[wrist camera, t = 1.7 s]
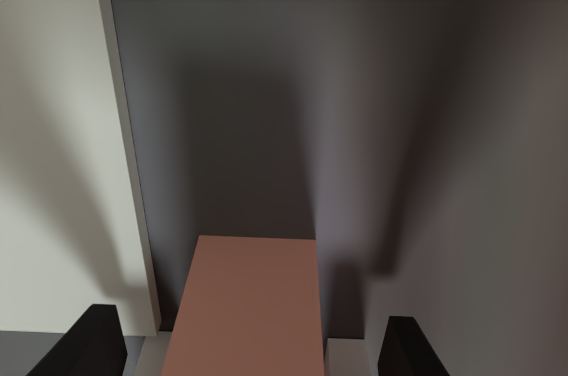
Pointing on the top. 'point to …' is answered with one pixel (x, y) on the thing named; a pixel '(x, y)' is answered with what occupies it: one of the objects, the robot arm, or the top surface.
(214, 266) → the salmon pink rectangular prism
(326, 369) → the white u-shaped piece
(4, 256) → the white rectangular board
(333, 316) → the top surface
